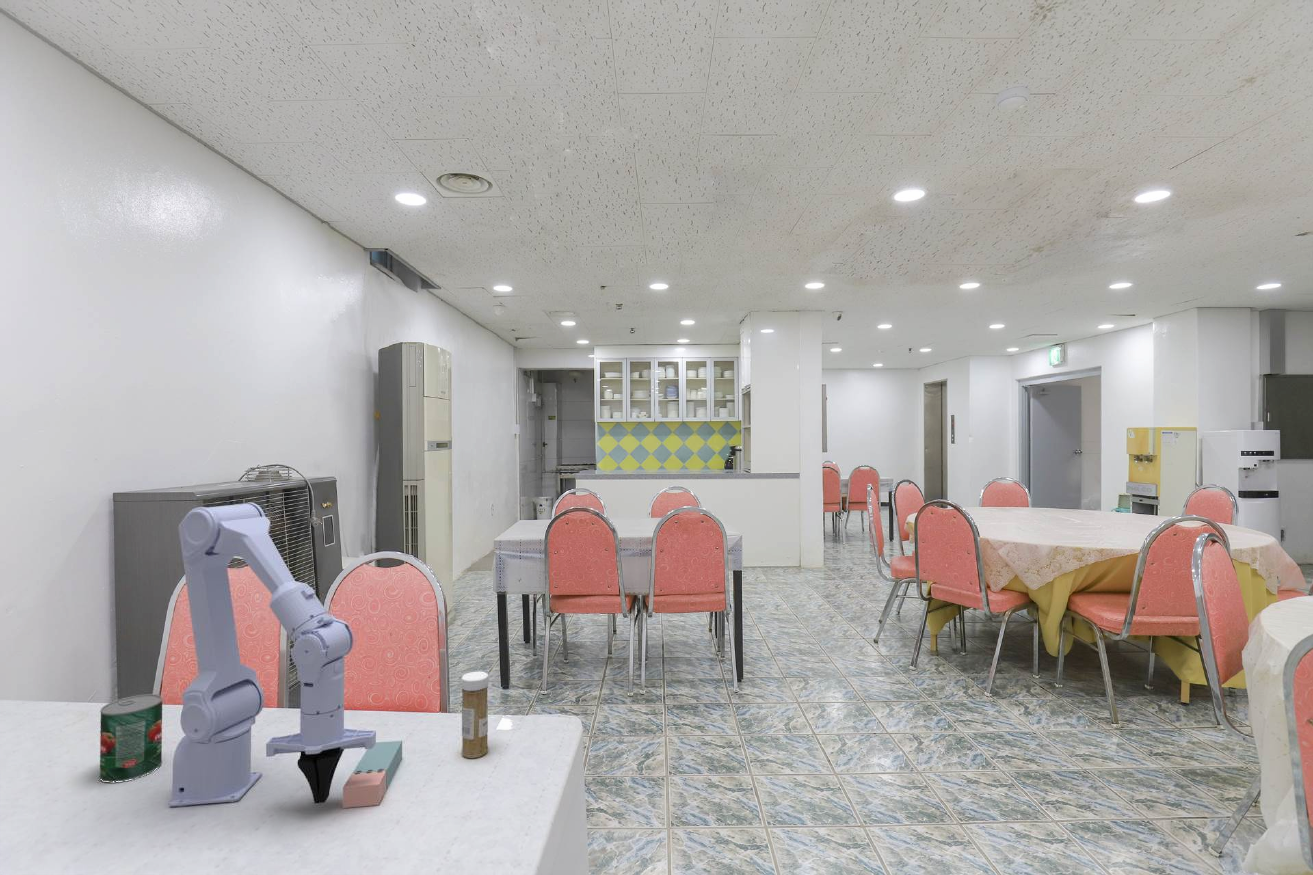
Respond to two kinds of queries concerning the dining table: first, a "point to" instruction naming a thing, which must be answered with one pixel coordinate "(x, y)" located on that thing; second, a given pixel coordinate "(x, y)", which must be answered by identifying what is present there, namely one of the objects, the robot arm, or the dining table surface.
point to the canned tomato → (130, 737)
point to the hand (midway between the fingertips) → (321, 799)
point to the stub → (364, 789)
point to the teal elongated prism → (381, 759)
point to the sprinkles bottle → (474, 714)
